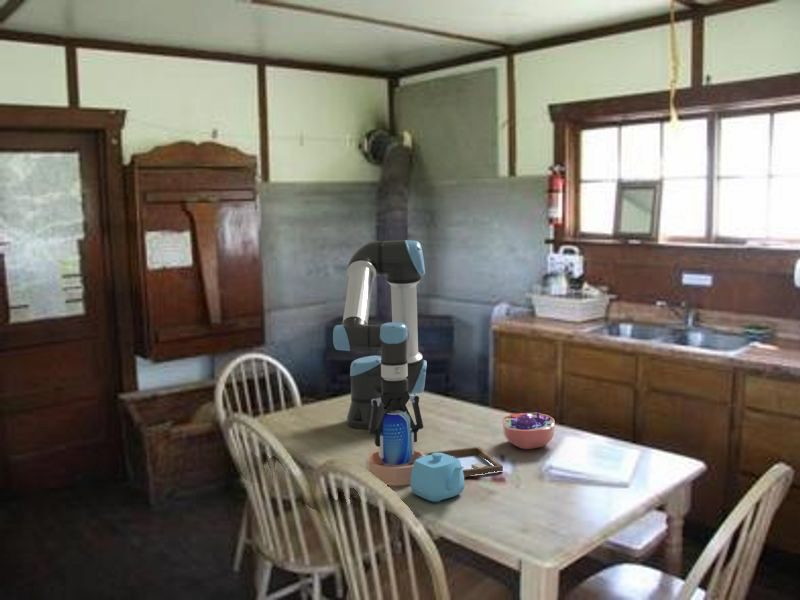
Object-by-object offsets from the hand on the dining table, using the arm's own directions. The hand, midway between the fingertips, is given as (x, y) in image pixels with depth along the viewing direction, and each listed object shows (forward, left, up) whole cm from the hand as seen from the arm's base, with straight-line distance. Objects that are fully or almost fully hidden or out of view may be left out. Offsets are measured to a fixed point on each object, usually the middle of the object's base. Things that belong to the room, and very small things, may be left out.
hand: (396, 454), depth 219 cm
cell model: (-10, +46, -6) cm, 47 cm away
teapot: (+19, +7, -6) cm, 21 cm away
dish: (0, 0, -6) cm, 6 cm away
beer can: (0, 0, -3) cm, 3 cm away
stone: (+6, +23, -6) cm, 25 cm away
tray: (0, +20, -6) cm, 21 cm away
